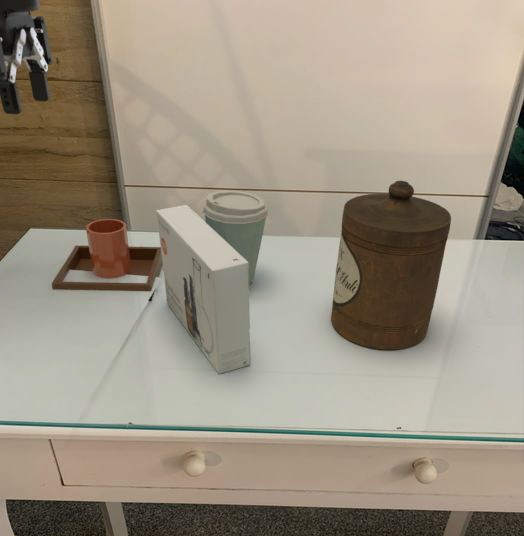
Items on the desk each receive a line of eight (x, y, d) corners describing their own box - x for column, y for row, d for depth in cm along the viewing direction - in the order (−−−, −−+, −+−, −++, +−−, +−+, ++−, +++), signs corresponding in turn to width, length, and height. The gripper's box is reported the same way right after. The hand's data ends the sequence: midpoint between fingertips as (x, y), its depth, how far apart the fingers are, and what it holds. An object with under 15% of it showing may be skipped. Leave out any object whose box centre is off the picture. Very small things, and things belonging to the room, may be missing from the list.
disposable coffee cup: (237, 261, 102) (237, 181, 94) (279, 282, 96) (283, 198, 88) (192, 279, 96) (188, 195, 88) (234, 302, 90) (234, 214, 81)
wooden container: (337, 294, 93) (353, 161, 81) (428, 307, 90) (459, 172, 78) (322, 341, 81) (339, 194, 69) (426, 358, 79) (462, 208, 66)
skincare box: (163, 304, 89) (154, 208, 80) (194, 297, 91) (190, 203, 82) (215, 376, 74) (212, 268, 65) (251, 366, 76) (253, 260, 67)
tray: (54, 299, 89) (51, 283, 88) (78, 259, 101) (75, 245, 100) (151, 300, 90) (150, 285, 88) (163, 261, 102) (162, 247, 100)
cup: (88, 282, 93) (79, 232, 88) (101, 266, 98) (94, 217, 93) (124, 285, 92) (118, 235, 87) (136, 269, 97) (131, 220, 92)
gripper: (0, -37, 74) (26, 95, 83) (-65, -37, 62) (-26, 116, 71) (54, -35, 73) (75, 98, 82) (-1, -35, 61) (30, 120, 71)
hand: (28, 106), depth 77 cm, fingers open, 8 cm apart
